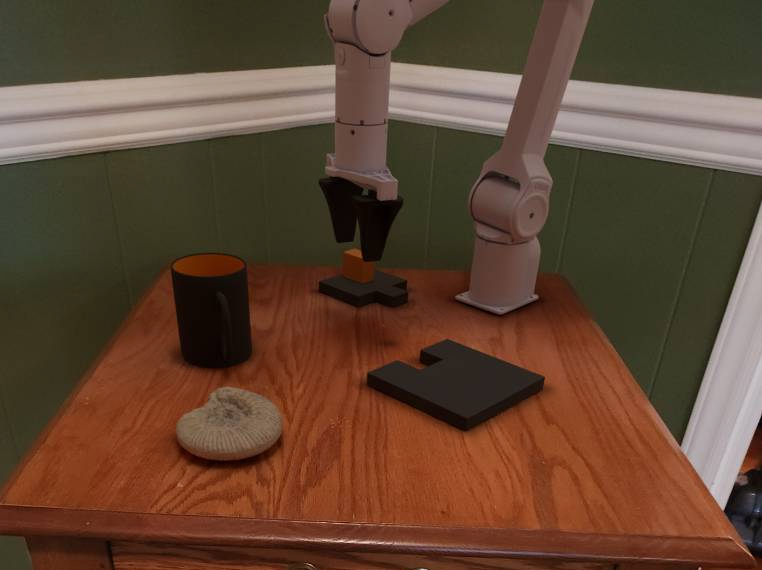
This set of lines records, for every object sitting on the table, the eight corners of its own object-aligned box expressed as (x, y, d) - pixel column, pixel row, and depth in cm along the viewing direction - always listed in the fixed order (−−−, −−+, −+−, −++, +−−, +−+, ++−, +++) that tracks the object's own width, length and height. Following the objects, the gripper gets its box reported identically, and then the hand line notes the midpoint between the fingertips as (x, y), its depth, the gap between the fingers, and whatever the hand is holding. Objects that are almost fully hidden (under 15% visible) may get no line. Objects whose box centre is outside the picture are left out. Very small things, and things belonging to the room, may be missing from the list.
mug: (195, 386, 79) (184, 292, 73) (175, 343, 88) (164, 255, 82) (269, 376, 82) (264, 284, 75) (242, 335, 91) (236, 249, 84)
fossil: (183, 373, 73) (283, 383, 74) (183, 407, 75) (280, 416, 76) (169, 428, 64) (283, 438, 65) (170, 464, 66) (280, 473, 68)
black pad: (367, 276, 109) (368, 241, 106) (423, 296, 103) (426, 260, 100) (318, 291, 103) (318, 255, 100) (375, 313, 97) (377, 276, 94)
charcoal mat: (445, 350, 89) (447, 338, 88) (542, 389, 81) (545, 376, 80) (366, 384, 81) (366, 372, 80) (465, 431, 73) (467, 418, 72)
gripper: (302, 112, 82) (304, 237, 91) (356, 135, 72) (353, 273, 80) (358, 109, 85) (355, 231, 93) (418, 131, 74) (409, 266, 83)
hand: (357, 250), depth 87 cm, fingers open, 7 cm apart
